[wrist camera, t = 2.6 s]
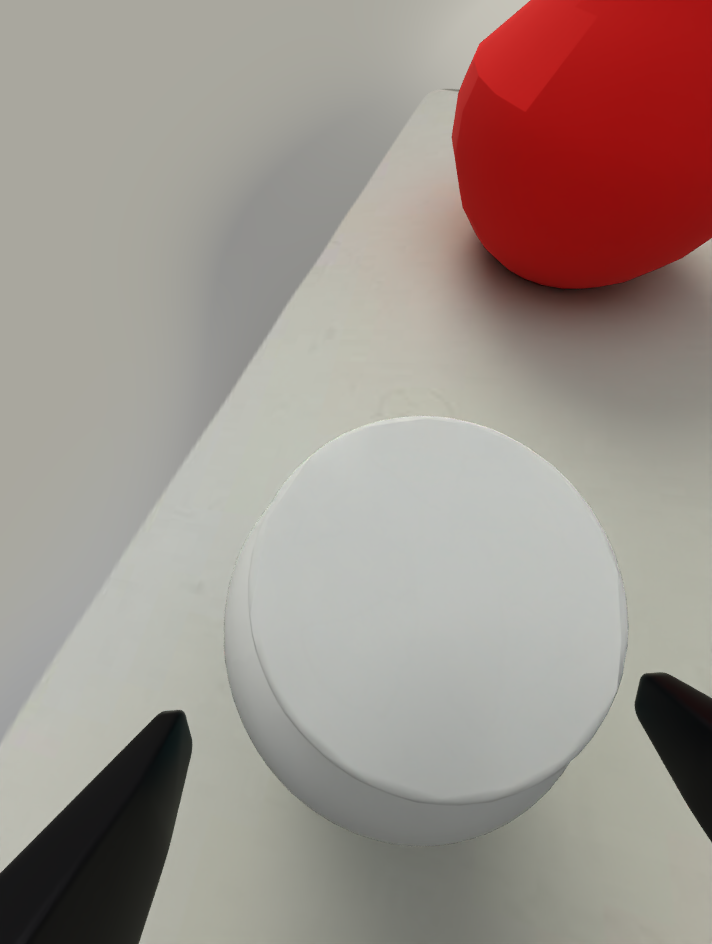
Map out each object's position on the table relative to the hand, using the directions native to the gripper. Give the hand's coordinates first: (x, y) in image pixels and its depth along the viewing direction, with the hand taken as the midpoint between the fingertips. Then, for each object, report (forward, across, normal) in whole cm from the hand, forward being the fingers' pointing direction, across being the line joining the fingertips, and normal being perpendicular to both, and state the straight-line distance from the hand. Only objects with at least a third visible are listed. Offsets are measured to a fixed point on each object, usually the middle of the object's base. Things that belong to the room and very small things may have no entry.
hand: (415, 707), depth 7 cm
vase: (+27, -16, -13) cm, 34 cm away
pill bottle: (+8, 0, +6) cm, 10 cm away
